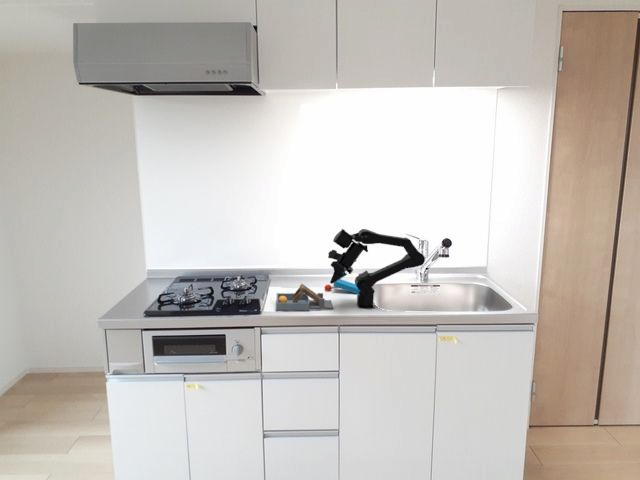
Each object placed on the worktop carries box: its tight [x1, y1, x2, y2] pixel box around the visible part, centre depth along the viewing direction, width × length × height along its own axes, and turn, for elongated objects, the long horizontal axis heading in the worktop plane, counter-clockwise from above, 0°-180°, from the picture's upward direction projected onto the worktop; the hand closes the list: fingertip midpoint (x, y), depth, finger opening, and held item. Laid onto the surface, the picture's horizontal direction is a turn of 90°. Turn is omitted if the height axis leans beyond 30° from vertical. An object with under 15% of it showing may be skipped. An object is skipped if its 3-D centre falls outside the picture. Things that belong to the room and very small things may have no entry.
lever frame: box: [309, 292, 334, 311], centre depth 204 cm, size 10×10×4 cm
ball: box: [278, 296, 287, 303], centre depth 202 cm, size 4×4×4 cm
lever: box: [324, 278, 360, 295], centre depth 227 cm, size 7×7×18 cm
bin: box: [275, 292, 310, 312], centre depth 203 cm, size 14×14×4 cm
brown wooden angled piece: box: [292, 283, 321, 303], centre depth 203 cm, size 8×7×11 cm
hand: (331, 283), depth 203 cm, fingers closed
